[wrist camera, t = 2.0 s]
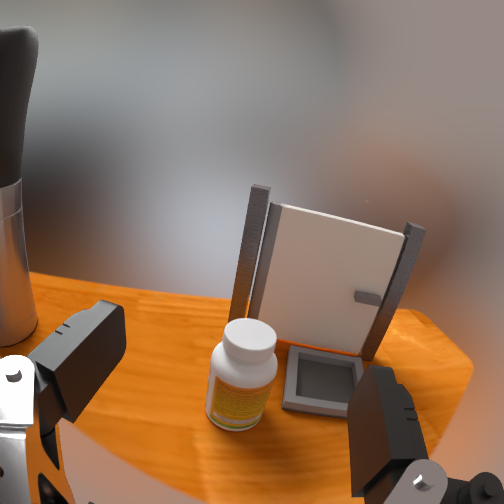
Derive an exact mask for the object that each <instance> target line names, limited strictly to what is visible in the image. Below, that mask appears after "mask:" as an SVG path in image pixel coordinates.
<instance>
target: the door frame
mask: <svg viewBox="0 0 504 504" xmlns="http://www.w3.org/2000/svg"><path fill="white" fill-rule="evenodd" d="M270 190H271V187H265V186H261V185H256V184H254V185H253V186H252V187H251V192H250V198H249V204H248V209H247V215H246V221H245V226H244V232H243V238H242V243H241V249H240V255H239V261H238V267H237V272H236V278H235V283H234V289H233V295H232V301H231V307H230V313H229V319H228V323H229V322H231V321H233V320H235V319H240V318H245V315H246V310H247V305H248V300H249V295H250V291H251V286H252V280H253V275H254V271H255V265H256V261H257V256H258V250H259V245H260V241H261V235H262V230H263V225H264V220H265V215H266V210H267V205H268V200H269V195H270ZM425 232H426V230H425V229H424V228H423V227H422V226H420V225H417V224H414V223H410V222H407V223H406V227H405V230H404V233H403V235H404V236H405V239H404V242H403V245H402V248H401V251H400V254H399V256H398V259H397V262H396V265H395V268H394V270H393V273H392V276H391V279H390V281H389V284H388V286H387V289H386V292H385V294H384V297H383V299H382V303H381V305H380V307H379V309H378V311H377V314H376V316H375V318H374V321H373V323H372V325H371V328H370V330H369V332H368V334H367V337H366V339H365V341H364V343H363V345H362V347H361V350H360V352H359V354H358V356H359V358H361V359H362V360H368V361H372V359H373V357H374V355H375V353H376V351H377V349H378V347H379V345H380V343H381V341H382V339H383V337H384V335H385V333H386V331H387V329H388V327H389V324H390V322H391V320H392V318H393V316H394V313H395V311H396V309H397V306H398V304H399V302H400V299H401V297H402V295H403V292H404V289H405V287H406V284H407V282H408V280H409V277H410V274H411V272H412V269H413V267H414V264H415V261H416V258H417V256H418V253H419V250H420V247H421V244H422V241H423V238H424V235H425Z"/></svg>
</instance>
